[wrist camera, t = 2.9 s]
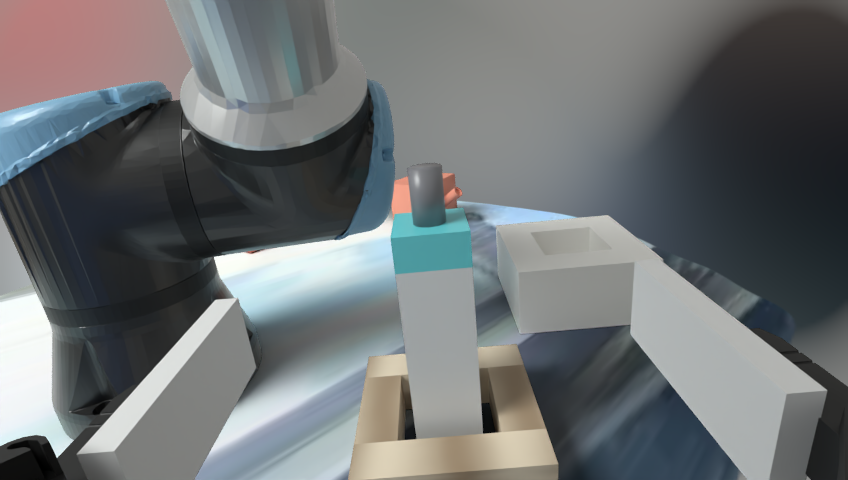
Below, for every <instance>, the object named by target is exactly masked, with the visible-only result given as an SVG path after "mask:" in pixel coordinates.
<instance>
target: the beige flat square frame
mask: <svg viewBox="0 0 848 480" xmlns="http://www.w3.org/2000/svg"><path fill="white" fill-rule="evenodd" d="M478 360H479V376H480V392H481V403H490V408H491V413H492V417H493V422H494V427H495V432H496V433H486V434H474V435H462V436H449V437H437V438H425V439H413V440H405V419H406V410H407V409H413V408H412V400H411V392H410V385H409V377H408V369H407V361H406V354H396V355H384V356H372V357H369V360H368V366H367V372H366V378H365V383H364V389H363V395H362V401H361V407H360V413H359V419H358V424H357V430H356V436H355V442H354V448H353V454H352V460H351V465H350V471H349V477H348V480H558V462H557V459H556V456H555V453H554V450H553V447H552V444H551V441H550V439H549V436H548V433H547V430H546V427H545V424H544V421H543V418H542V416H541V413H540V410H539V407H538V404H537V401H536V398H535V396H534V393H533V390H532V387H531V384H530V381H529V378H528V375H527V373H526V370H525V367H524V364H523V361H522V358H521V355H520V353H519V350H518V347H517V344H511V345H500V346H488V347H478Z"/></svg>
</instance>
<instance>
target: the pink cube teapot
mask: <svg viewBox="0 0 848 480" xmlns="http://www.w3.org/2000/svg"><path fill="white" fill-rule="evenodd" d="M442 175H443V188H444V200H445V209H454V208H457V201H456V199H457V198H459V197H460V196H462V191H461V189H460V188H458V187H455V175H454V174H450V173H442ZM391 205H392V213H393V221H394V215H395V214H400V213H411V212H412V210H411V200H410V191H409V182H408V176H407V177H405V178H402V179H400V180H395V181H394V192H393V199H392V204H391Z"/></svg>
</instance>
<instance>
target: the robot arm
mask: <svg viewBox="0 0 848 480" xmlns="http://www.w3.org/2000/svg"><path fill="white" fill-rule="evenodd" d="M165 1H166V4H167V6H168V8H169V11H170V13H171V16H172V18H173V20H174V23H175V25H176V27H177V30H178V32H179V35H180V37H181V39H182V42H183V44H184V46H185V49H186V51H187V54H188V56H189V58H190V60H191V63H192V66H193V67H192V68H191V70H190V71H189V73H188V74H187V76H186V77H185V79H184V82H183V84H182V87H181V92H180V100H176V101H171V100H172V95H171V92H169V91H168V90H167V89H166V87H165V85H164V84H163V83H161V82H158V81H149V82H140V83H134V84H127V85H122V86H117V87H112V88H108V89H103V90H98V91H90V92H86V93H81V94H77V95H71V96H67V97H62V98H58V99H53V100H49V101H45V102H40V103H36V104H33V105H28V106H25V107H20V108H17V109H13V110H10V111H6V112H3V113H0V213H1V215H2V218H3V220H4V222H5V224H6V226H7V228H8V231H9V233H10V235H11V237H12V240H13V242H14V244H15V246H16V248H17V251H18V253H19V255H20V257H21V260H22V262H23V264H24V266H25V268H26V271H27V273H28V275H29V277H30V280H31V282H32V284H33V286H34V288H35V291H36V293H37V295H38V297H39V300H40V302H41V303H42V306H43V308H44V310H45V313H46V315H47V317H48V320H49V322H50V325H51V327H52V332H53V343H52V402H53V407H54V410H55V412H56V414H57V416H58V418H59V420H60V423H61V425H62V427H63V429H64V431H65V433H66V434H67V435H68V436H69V437H70V438H72V439H73V440H74V441H73V442H72V443H71V444H70V445H69V446H68V447H67V448H66V449H65V451H64V452H63V453H62V454H61V455H60V456H59V457H58V458H56V455H55V453H54V451H53V449H52V447H51V445H50V443H49V441H48V440H47V438H46V437H44V436H38V435H34V436H28V437H23V438H20V439H17V440H14V441H11V442H8V443H6V444H4V445H2V446H0V480H194V479H195V477H196V475H197V474H198V472H199V470H200V468H201V466H202V465H203V463H204V461H205V459H206V457H207V456H208V454H209V452H210V450H211V448H212V447H213V445H214V443H215V441H216V439H217V438H218V436H219V434H220V432H221V430H222V429H223V427H224V425H225V423H226V421H227V419H228V418H229V416H230V414H231V412H232V410H233V409H234V407H235V405H236V403H237V401H238V400H239V398H240V396H241V394H242V392H243V391H244V389H245V387H246V385H247V383H248V382H249V381H250V380H251V378H252V377H253V376H254V374H255V373H256V371H257V369H258V367H259V365H260V362H261V357H262V351H261V347H260V343H259V339H258V335H257V331H256V329H255V327H254V325H253V323H252V322H251V320H250V319H249V317H248V316H247V315H246V313H245V312H244V310H243V309H242V308H241V306H240V303H239V300H238V298H234V297H233V295H232V294H231V292H230V291H229V290H228V288H227V287H226V286H225V284H224V283H223V281H222V280H221V279H220V277H219V274H218V271H217V268H216V264H215V260H214V257H215V256H221V255H227V254H234V253H241V252H248V251H255V250H262V249H269V248H277V247H284V246H291V245H298V244H305V243H312V242H319V241H326V240H333V239H334V240H340V239H343V238H345V237H347V236H348V235H353V234H357V233H362V232H366V231H371V230H374V229H376V228H377V227H379V226H380V225H381V224H382V223H383V222H384V221H385V219H386V218H387V216H388V214H389V211H390V208H391V204H392V199H393V192H394V181H395V161H394V157H393V149H394V133H393V123H392V116H391V110H390V105H389V102H388V98H387V95H386V92H385V90H384V88H383V87H382V85H381V84H379V83H378V82H377V81H373V80H368V79H367V78H366V73H365V70H364V67H363V66H362V64H361V62H360V61H359V60H358V58H357V57H356V56H355V55H354V54H353V53H352V52H351V51H349V50H348V49H347V48H345V47H344V46H342V45H341V44H339V39H338V30H337V22H336V14H335V6H334V0H165ZM630 334H631V336H632V337H633V338H634V339H635V341H636V342H637V343H638V344H639V346H640V347H641V348H642V349H643V351H644V352H645V353H646V354H647V356H648V357H649V358H650V359H651V361H652V362H653V363H654V364H655V366H656V367H657V368H658V369H659V371H660V372H661V373H662V374H663V375H664V377H665V378H666V379H667V380H668V382H669V383H670V384H671V385H672V387H673V388H674V389H675V390H676V392H677V393H678V394H679V395H680V397H681V398H682V399H683V400H684V402H685V403H686V404H687V405H688V407H689V408H690V409H691V410H692V412H693V413H694V414H695V415H696V417H697V418H698V419H699V420H700V421H701V423H702V424H703V425H704V426H705V428H706V429H707V430H708V431H709V433H710V434H711V435H712V436H713V438H714V439H715V440H716V441H717V443H718V444H719V445H720V446H721V448H722V449H723V450H724V451H725V453H726V454H727V455H728V456H729V458H730V459H731V460H732V461H733V462H734V464H735V465H736V466H737V467H738V469H739V470H740V471H741V472H742V474H743V475H744V476H745V477H746V479H747V480H806V477H807V476H808V477H809V478H810V479H811V480H848V387H847V386H846V385H844V384H843V383H842V382H840V381H839V380H838V379H836V378H835V377H834V376H832V375H831V374H830V373H828V372H827V371H826V370H824V369H823V368H821V367H820V366H819V365H817V364H816V363H812V360H811V359H809V358H808V357H807V356H805V355H804V354H802V353H799V352H798V350H797V349H796V348H794V347H793V346H792V345H790V344H789V343H787V342H786V341H785V340H783V339H782V338H780V337H778V336H776V335H773V334H771V333H769V332H767V331H764V330H762V329H760V328H755V329H748V328H747V327H746V326H744V325H743V324H742V323H740V322H739V321H738V320H737V319H735V318H734V317H733V316H731V315H730V314H729V313H728V312H726V311H725V310H724V309H722V308H721V307H720V306H719V305H717V304H716V303H715V302H713V301H712V300H711V299H710V298H708V297H707V296H706V295H704V294H703V293H702V292H701V291H699V290H698V289H697V288H695V287H694V286H693V285H692V284H690V283H689V282H688V281H686V280H685V279H684V278H683V277H681V276H680V275H679V274H678V273H676V272H675V271H674V270H672V269H671V268H670V267H669V266H667V265H666V264H665V263H663V262H662V261H661V260H660V259H649V260H639V261H635V265H634V281H633V298H632V314H631V330H630Z"/></svg>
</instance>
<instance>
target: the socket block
mask: <svg viewBox="0 0 848 480" xmlns="http://www.w3.org/2000/svg"><path fill="white" fill-rule="evenodd" d="M496 237H497V261H498V277H499V280H500V282H501V285H502V288H503V290H504V293H505V296H506V298H507V301H508V304H509V306H510V309H511V312H512V314H513V317H514V320H515V322H516V325H517V328H518V330H519V333H520V334H528V333H540V332H551V331H563V330H574V329H586V328H597V327H609V326H620V325H631V314H632V298H633V281H634V265H635V261H639V260H649V259H660V260H661V261H662V262H663V259H662V258H661V257H660V256H658V255H657V254H656V253H655V252H653V251H652V250H651V249H650V248H648V247H647V246H646V245H645V244H643V243H642V242H641V241H640V240H638V239H637V238H636V237H635V236H633V235H632V234H631V233H629V232H628V231H627V230H626V229H625V228H623V227H622V226H621V225H620V224H618V223H617V222H616V221H615V220H613V219H612V218H611V217H609V216H608V215H606V216H594V217H583V218H573V219H562V220H551V221H540V222H530V223H519V224H508V225H497V226H496Z"/></svg>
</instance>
